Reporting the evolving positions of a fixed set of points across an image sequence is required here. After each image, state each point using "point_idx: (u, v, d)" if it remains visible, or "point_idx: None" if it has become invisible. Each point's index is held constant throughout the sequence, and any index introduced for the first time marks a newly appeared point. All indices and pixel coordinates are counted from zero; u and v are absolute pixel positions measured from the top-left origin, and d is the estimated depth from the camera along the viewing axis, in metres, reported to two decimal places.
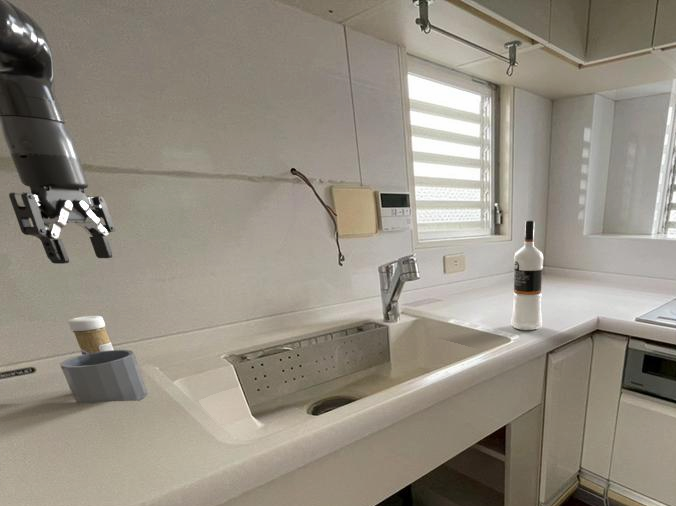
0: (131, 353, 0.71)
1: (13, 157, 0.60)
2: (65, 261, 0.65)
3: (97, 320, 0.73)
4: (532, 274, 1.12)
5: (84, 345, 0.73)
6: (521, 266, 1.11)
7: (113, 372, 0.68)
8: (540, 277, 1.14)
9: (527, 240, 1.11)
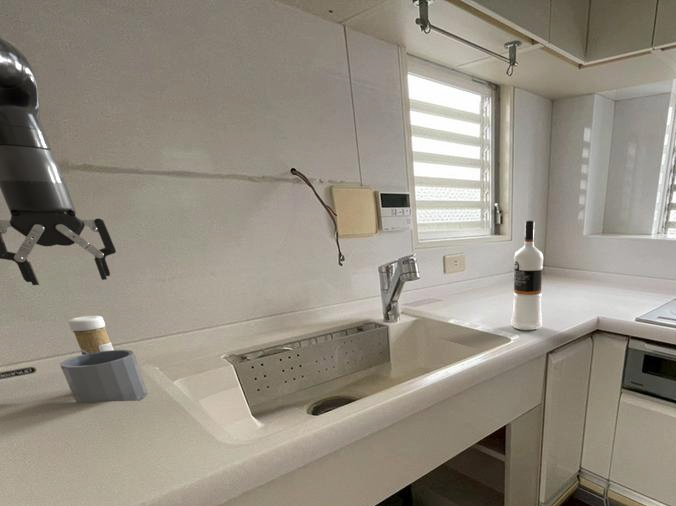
0: (131, 353, 0.71)
1: None
2: (32, 283, 0.67)
3: (97, 320, 0.73)
4: (532, 274, 1.12)
5: (84, 345, 0.73)
6: (521, 266, 1.11)
7: (113, 372, 0.68)
8: (540, 277, 1.14)
9: (527, 240, 1.11)
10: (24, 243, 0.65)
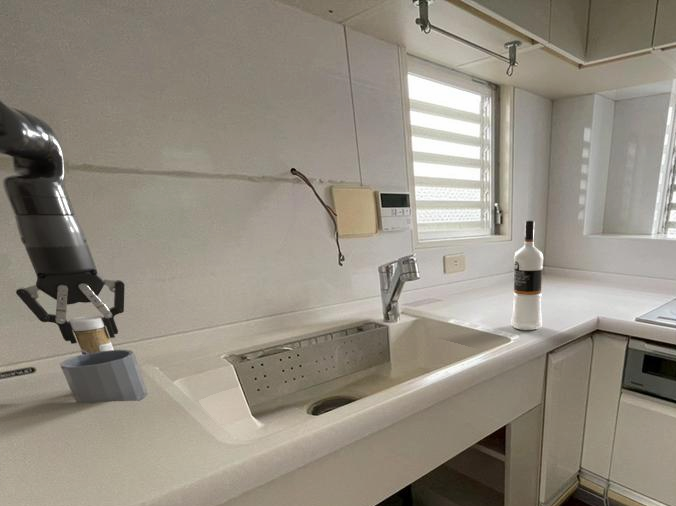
0: (131, 353, 0.71)
1: None
2: None
3: (98, 320, 0.73)
4: (532, 274, 1.12)
5: (84, 345, 0.73)
6: (521, 266, 1.11)
7: (113, 372, 0.68)
8: (540, 277, 1.14)
9: (527, 240, 1.11)
10: (58, 306, 0.69)
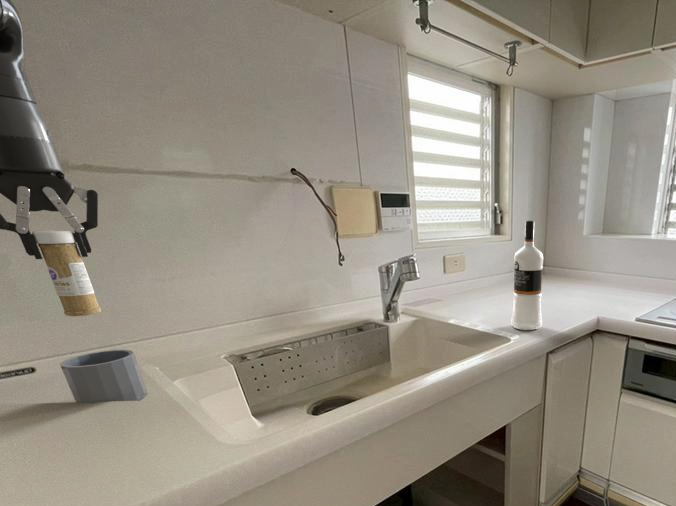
0: (131, 353, 0.71)
1: None
2: (35, 257, 0.62)
3: (67, 234, 0.64)
4: (532, 274, 1.12)
5: (51, 261, 0.63)
6: (521, 266, 1.11)
7: (113, 372, 0.68)
8: (540, 277, 1.14)
9: (527, 240, 1.11)
10: (18, 211, 0.60)
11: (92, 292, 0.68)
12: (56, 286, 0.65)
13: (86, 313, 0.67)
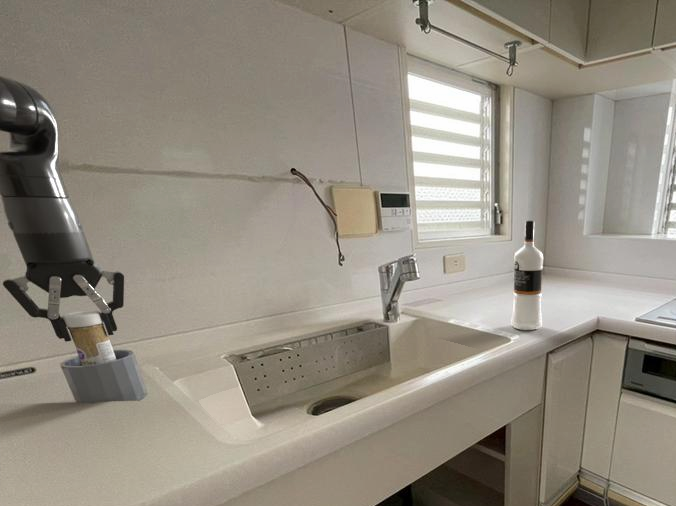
0: (131, 353, 0.71)
1: None
2: None
3: (95, 316, 0.66)
4: (532, 274, 1.12)
5: (80, 343, 0.66)
6: (521, 266, 1.11)
7: (113, 372, 0.68)
8: (540, 277, 1.14)
9: (527, 240, 1.11)
10: (50, 299, 0.62)
11: None
12: (84, 365, 0.67)
13: None
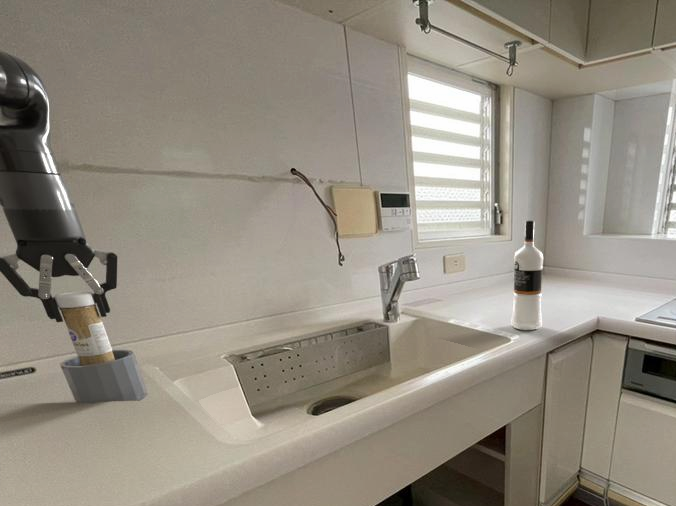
0: (131, 353, 0.71)
1: None
2: (56, 320, 0.64)
3: (87, 297, 0.65)
4: (532, 274, 1.12)
5: (71, 324, 0.65)
6: (521, 266, 1.11)
7: (113, 372, 0.68)
8: (540, 277, 1.14)
9: (527, 240, 1.11)
10: (41, 278, 0.61)
11: (110, 350, 0.69)
12: (76, 347, 0.66)
13: None
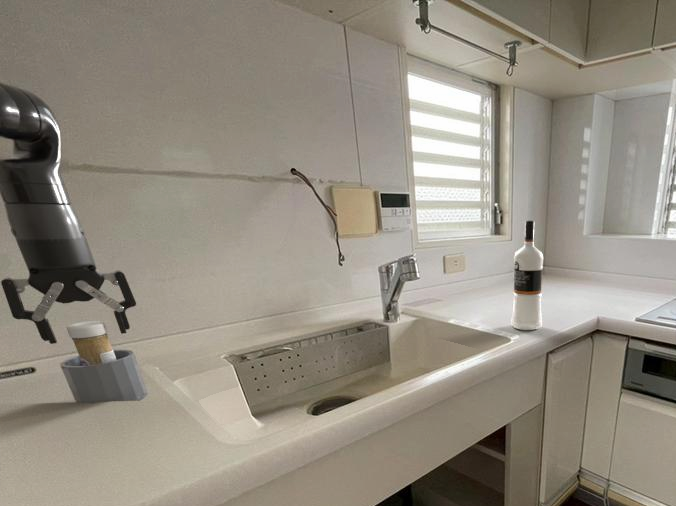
0: (131, 353, 0.71)
1: None
2: None
3: (98, 327, 0.67)
4: (532, 274, 1.12)
5: (84, 353, 0.67)
6: (521, 266, 1.11)
7: (113, 372, 0.68)
8: (540, 277, 1.14)
9: (527, 240, 1.11)
10: (42, 302, 0.62)
11: None
12: None
13: None
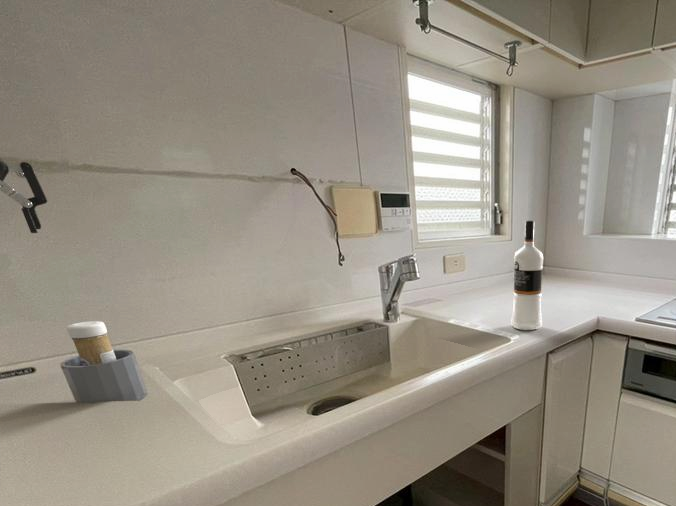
0: (131, 353, 0.71)
1: None
2: None
3: (98, 327, 0.67)
4: (532, 274, 1.12)
5: (84, 353, 0.67)
6: (521, 266, 1.11)
7: (113, 372, 0.68)
8: (540, 277, 1.14)
9: (527, 240, 1.11)
10: None
11: None
12: None
13: None
